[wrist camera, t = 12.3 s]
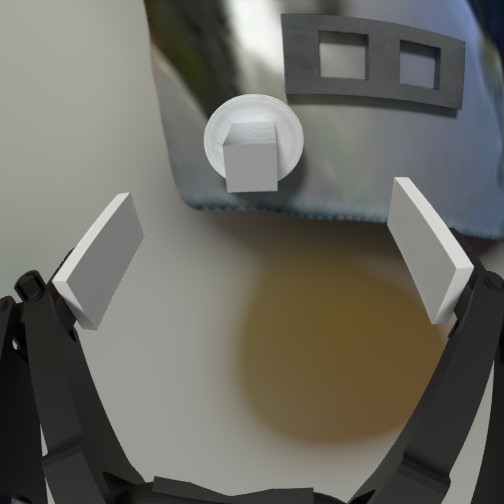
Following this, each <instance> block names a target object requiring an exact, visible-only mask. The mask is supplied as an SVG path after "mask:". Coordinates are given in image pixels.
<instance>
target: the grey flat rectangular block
mask: <svg viewBox="0 0 504 504" xmlns="http://www.w3.org/2000/svg"><path fill="white" fill-rule="evenodd" d="M281 29H282V44H283V60H284V78H285V93H286V94H341V95H358V96H371V97H381V98H391V99H399V100H407V101H414V102H421V103H427V104H433V105H439V106H444V107H449V108H454V109H459V110H461V108H462V98H463V86H464V69H465V42H464V41H461V40H458V39H455V38H452V37H449V36H445V35H442V34H438V33H434V32H431V31H427V30H423V29H418V28H414V27H410V26H405V25H400V24H395V23H389V22H383V21H377V20H370V19H363V18H354V17H345V16H332V15H315V14H281ZM318 31H330V32H343V33H354V34H363V35H365V79H354V78H338V77H320V67H319V41H318ZM400 40H403V41H408V42H413V43H418V44H422V45H426V46H431V47H435V80H434V89H431V88H425V87H419V86H414V85H407V84H400V83H399V75H400Z"/></svg>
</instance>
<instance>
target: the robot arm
mask: <svg viewBox="0 0 504 504" xmlns="http://www.w3.org/2000/svg"><path fill="white" fill-rule="evenodd" d="M387 225H388V227H389V229H390V231H391V233H392V235H393V237H394V239H395V241H396V243H397V245H398V247H399V249H400V251H401V253H402V256H403V257H404V260H405V262H406V264H407V266H408V268H409V270H410V273H411V275H412V277H413V279H414V282H415V284H416V286H417V289H418V291H419V293H420V296H421V298H422V300H423V303H424V305H425V308H426V310H427V313H428V315H429V318H430V320H431V323H432V324H438V323H445V322H448V321H449V320H450V318H451V315H452V314H453V312H455V315H456V317H457V321H456V323H455V324H454V326H453V328H452V330H451V332H450V333H449V335H448V338H449V340H448V342H447V344H446V347H445V349H444V351H443V354H442V356H441V358H440V360H439V363H438V365H437V367H436V369H435V371H434V373H433V375H432V377H431V379H430V381H429V384H428V385H427V387H426V389H425V391H424V393H423V395H422V397H421V399H420V401H419V403H418V404H417V406H416V408H415V410H414V412H413V414H412V415H411V417H410V418H409V420H408V422H407V424H406V425H405V427H404V429H403V430H402V432H401V433H400V435H399V437H398V438H397V440H396V441H395V443H394V445H393V446H392V447H391V449H390V450H389V452H388V453H387V455H386V456H385V458H384V459H383V461H382V462H381V464H380V465H379V466H378V468H377V469H376V470H375V472H374V473H373V474H372V475H371V476H370V477H369V478H368V480H367V481H366V482H365V483H364V484H363V485H362V486H361V487H360V489H359V490H358V491H357V492H356V493H355V494H354V496H353V497H352V498H351V499H350V500H349V502H348V503H347V504H441V502H442V501H443V499H444V497H445V496H446V494H447V492H448V490H449V487H450V483H451V480H450V477H449V474H450V471H451V469H452V467H453V465H454V463H455V461H456V459H457V457H458V455H459V453H460V451H461V449H462V446H463V444H464V442H465V440H466V438H467V435H468V433H469V431H470V428H471V426H472V423H473V421H474V418H475V416H476V413H477V411H478V408H479V405H480V403H481V400H482V397H483V394H484V391H485V388H486V384H487V382H488V378H489V375H490V372H491V368H492V365H493V361H494V379H493V393H492V404H491V412H490V420H489V427H488V433H487V439H486V445H485V450H484V455H483V460H482V464H481V468H480V472H479V476H478V480H477V484H476V487H475V491H474V494H473V497H472V501H471V504H504V280H503V279H502V278H501V277H500V276H499V275H498V274H496V273H494V272H491V271H486V269H485V268H484V266H483V265H482V263H481V262H480V260H479V259H478V257H477V256H476V255H475V253H474V251H472V248H471V247H470V246H469V244H467V241H466V240H465V239H464V237H463V236H462V234H460V233H459V232H458V231H457V230H455V229H454V228H447V226H446V225H445V224H444V222H443V221H442V219H441V218H440V217H439V215H438V214H437V213H436V211H435V210H434V209H433V208H432V206H431V205H430V204H429V202H428V201H427V200H426V199H425V197H424V196H423V195H422V194H421V192H420V191H419V190H418V189H417V188H416V186H415V185H414V184H413V183H412V182H411V180H410V179H409V178H405V177H394V183H393V191H392V198H391V205H390V211H389V218H388V224H387ZM143 238H144V233H143V231H142V227H141V225H140V221H139V219H138V216H137V212H136V209H135V207H134V203H133V200H132V197H131V193H123V194H118V195H117V196H116V197H115V198H114V199H113V201H112V202H111V203H110V204H109V205H108V206H107V208H106V209H105V210H104V211H103V213H102V214H101V215H100V216H99V218H98V219H97V220H96V221H95V223H94V224H93V225H92V226H91V228H90V229H89V230H88V232H87V233H86V234H85V236H84V237H83V238H82V239H81V241H80V242H79V244H78V245H77V246H76V247H74V248H73V249H72V250H71V251H70V252H69V253H68V255H67V256H66V257H65V258H64V261H62V263H61V264H60V267H58V268H57V270H56V271H55V273H54V274H53V276H52V277H51V279H50V280H49V282H48V283H47V285H46V284H45V282H44V281H43V279H42V277H41V276H40V274H39V272H38V271H36V270H32V271H29V272H27V273H25V274H24V275H22V276H21V277H20V278H19V279H18V281H17V282H16V284H15V287H14V289H15V291H16V292H17V294H18V295H19V297H20V298H21V300H22V301H23V302H21V303H16V302H15V301H14V299H13V297H12V296H5V297H3V298H1V299H0V504H48V500H47V489H46V481H45V477H46V480H47V483H48V486H49V489H50V492H51V494H52V497H53V499H54V502H55V504H346V503H345V502H342V501H341V500H339V499H337V498H334V497H332V496H329V495H325V494H322V493H317V492H313V488H295V489H294V488H293V489H269V490H264V491H259V492H254V493H249V494H242V495H236V496H227V495H223V494H220V493H217V492H215V491H212V490H209V489H206V488H203V487H201V486H198V485H195V484H193V483H190V482H184V481H178V480H172V479H167V478H162V477H157V476H155V477H154V482H147V483H146V482H145V481H144V479H143V478H142V476H141V475H140V474H139V473H138V472H137V471H136V469H135V468H134V467H132V465H131V464H130V462H129V461H128V459H127V457H126V455H125V453H124V451H123V449H122V447H121V445H120V443H119V441H118V439H117V437H116V435H115V433H114V431H113V428H112V426H111V424H110V422H109V419H108V417H107V415H106V412H105V410H104V408H103V405H102V403H101V400H100V398H99V395H98V393H97V390H96V387H95V385H94V382H93V379H92V377H91V374H90V371H89V368H88V365H87V362H86V359H85V356H84V353H83V350H82V347H81V344H80V340H79V337H78V333H77V331H76V329H75V328H74V324H75V322H76V320H77V321H78V322H79V324H80V325H81V327H82V328H83V329H89V330H97V329H98V326H99V324H100V322H101V320H102V318H103V316H104V313H105V311H106V309H107V307H108V305H109V303H110V301H111V299H112V297H113V295H114V293H115V291H116V289H117V287H118V285H119V283H120V281H121V279H122V277H123V275H124V273H125V271H126V269H127V267H128V265H129V264H130V262H131V260H132V258H133V256H134V254H135V252H136V251H137V249H138V247H139V245H140V243H141V241H142V240H143ZM13 341H14V342H15V343H16V344H17V349H14V347H13ZM40 423H41V427H42V431H43V435H44V439H45V442H46V446H47V450H48V453H47V455H45V456H42V445H41V429H40Z"/></svg>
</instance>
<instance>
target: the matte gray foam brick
mask: <svg viewBox="0 0 504 504" xmlns="http://www.w3.org/2000/svg"><path fill="white" fill-rule="evenodd" d="M223 156H224V165H225V174H226V183H227V192H254V191H278V188H277V151H276V135H275V124H274V122H248V123H232V125H231V128H230V130H229V132H228V134H227V136H226V139H225V141H224V143H223Z"/></svg>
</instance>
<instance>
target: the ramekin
mask: <svg viewBox="0 0 504 504" xmlns="http://www.w3.org/2000/svg"><path fill="white" fill-rule="evenodd" d="M248 122H274V124H275V135H276V151H277V181H279V180H281V179H283V178H284V177H286V176H287V175H288V174H289V173H290V172H291V171H292V170H293V169H294V168H295V166H296V165H297V163H298V162H299V160H300V157H301V155H302V151H303V146H304V135H303V130H302V126H301V123H300V121H299V119H298V117H297V116H296V114H295V113H294V112H293V110H292V109H291V108H290V107H289V106H287V105H286V104H285V103H283V102H282V101H280V100H278V99H276V98H274V97H271V96H267V95H262V94H247V95H241V96H238V97H235V98H233V99H231V100H229V101H227V102H225V103H224V104H223V105H221V106H220V107H219V108H218V109H217V110H216V111H215V112H214V114H213V115H212V117H211V118H210V120H209V122H208V124H207V126H206V129H205V133H204V148H205V153H206V156H207V158H208V160H209V162H210V164H211V165H212V167H213V168H214V169H215V170H216V171H217V172H218V173H219V174H220V175H221V176H222V177H224V178H225V179H226V174H225V165H224V156H223V143H224V141H225V139H226V136H227V134H228V132H229V130H230V128H231V125H232V123H248Z"/></svg>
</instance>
